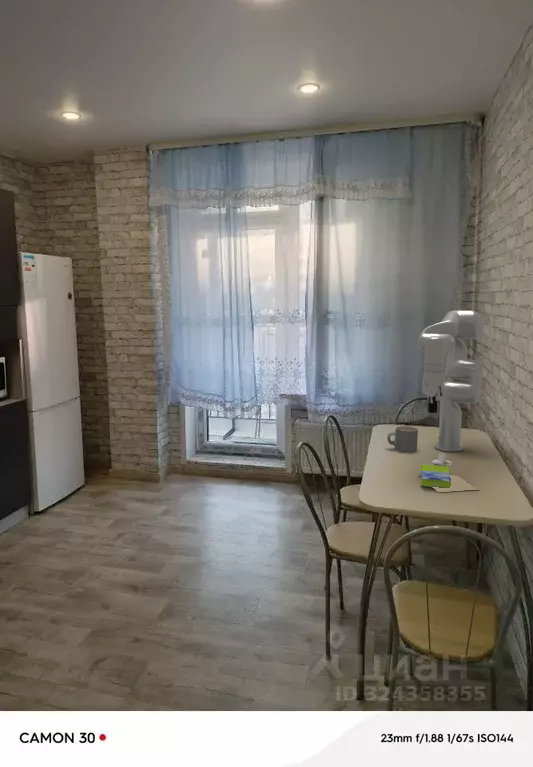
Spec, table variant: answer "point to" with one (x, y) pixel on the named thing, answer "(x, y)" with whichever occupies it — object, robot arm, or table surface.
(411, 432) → the coffee mug
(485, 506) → the table surface
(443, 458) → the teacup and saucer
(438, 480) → the box
